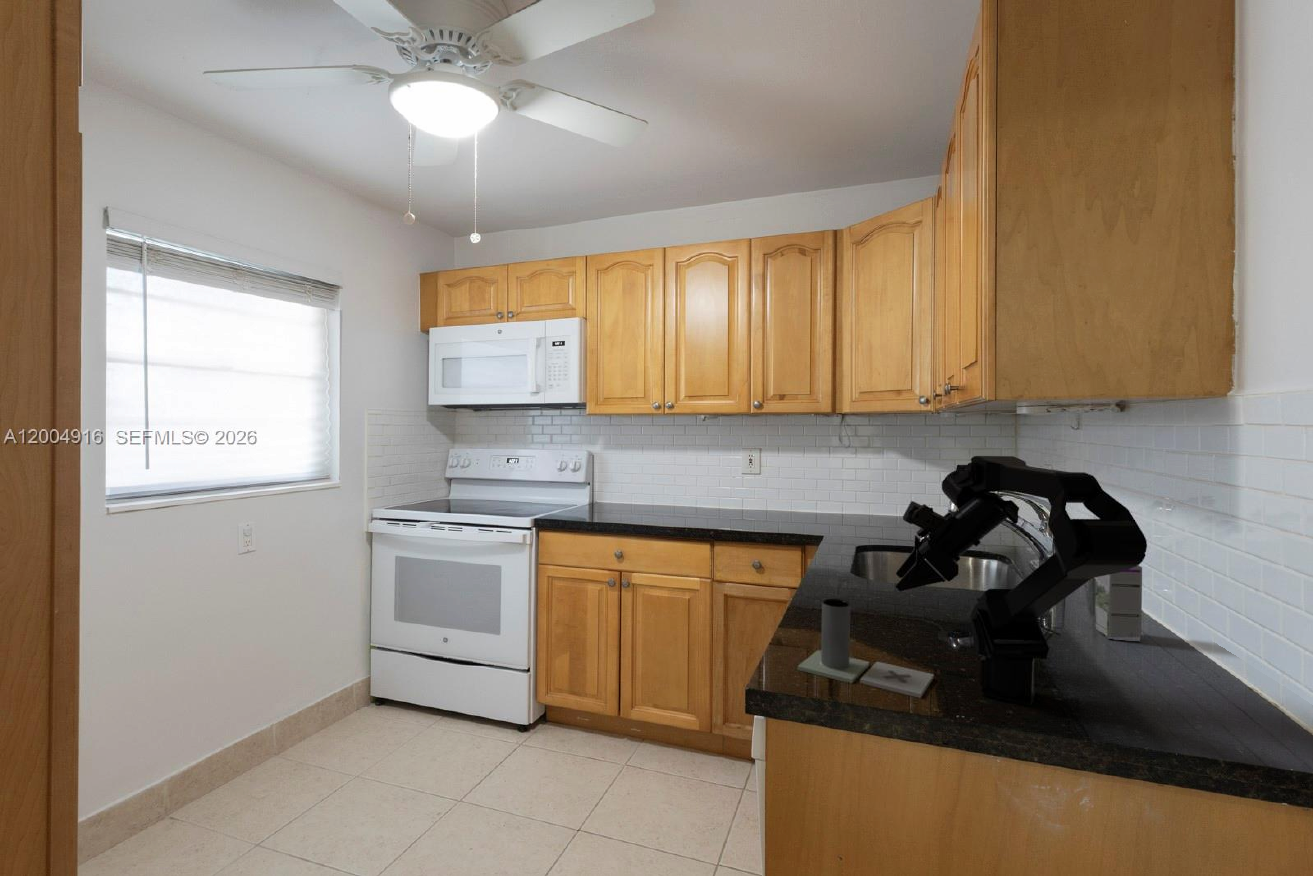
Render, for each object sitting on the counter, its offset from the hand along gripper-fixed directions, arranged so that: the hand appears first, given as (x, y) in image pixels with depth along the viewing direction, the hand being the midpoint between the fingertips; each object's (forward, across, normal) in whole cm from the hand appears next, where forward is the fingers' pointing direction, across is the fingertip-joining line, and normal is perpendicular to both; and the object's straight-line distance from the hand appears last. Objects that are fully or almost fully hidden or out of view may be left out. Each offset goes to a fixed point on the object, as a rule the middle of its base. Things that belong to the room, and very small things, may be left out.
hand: (897, 582), depth 108 cm
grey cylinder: (+16, +8, +3) cm, 18 cm away
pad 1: (+16, +8, +3) cm, 18 cm away
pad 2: (+9, +9, +10) cm, 16 cm away
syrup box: (-18, -30, +38) cm, 52 cm away
